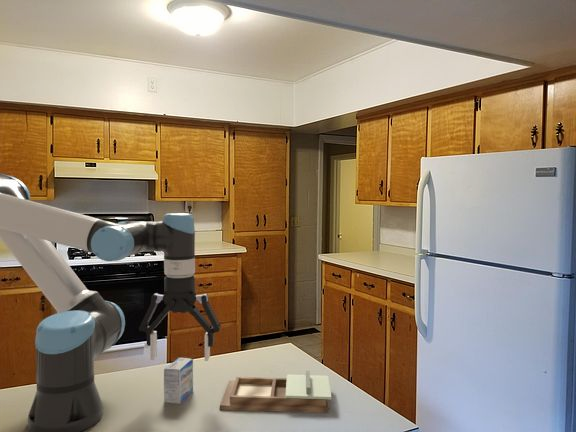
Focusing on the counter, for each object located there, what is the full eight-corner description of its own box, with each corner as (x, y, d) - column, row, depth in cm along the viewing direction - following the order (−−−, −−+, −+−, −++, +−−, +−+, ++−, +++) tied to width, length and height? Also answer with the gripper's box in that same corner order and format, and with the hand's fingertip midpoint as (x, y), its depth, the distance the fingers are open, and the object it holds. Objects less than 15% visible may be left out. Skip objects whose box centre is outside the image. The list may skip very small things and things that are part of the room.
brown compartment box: (219, 409, 106) (219, 398, 106) (229, 384, 120) (229, 374, 120) (328, 412, 106) (328, 402, 105) (325, 387, 120) (325, 377, 119)
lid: (285, 397, 107) (285, 389, 106) (287, 376, 119) (287, 368, 119) (331, 399, 106) (331, 390, 106) (328, 377, 119) (328, 369, 118)
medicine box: (180, 404, 108) (180, 370, 108) (163, 402, 109) (163, 368, 109) (193, 390, 116) (193, 358, 116) (177, 389, 117) (177, 356, 116)
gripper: (124, 277, 108) (125, 363, 109) (226, 278, 107) (227, 364, 108) (135, 272, 115) (137, 352, 116) (231, 272, 114) (232, 353, 115)
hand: (180, 358), depth 112 cm, fingers open, 13 cm apart
